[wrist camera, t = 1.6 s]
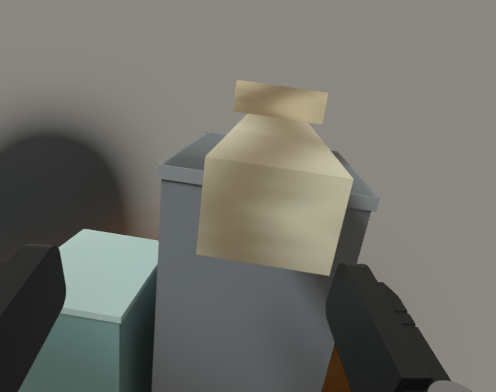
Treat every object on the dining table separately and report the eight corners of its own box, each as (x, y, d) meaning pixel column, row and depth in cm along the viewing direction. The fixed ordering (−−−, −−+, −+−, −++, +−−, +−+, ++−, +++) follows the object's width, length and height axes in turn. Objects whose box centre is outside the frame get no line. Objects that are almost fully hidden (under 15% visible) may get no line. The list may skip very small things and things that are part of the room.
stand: (142, 516, 29) (157, 164, 18) (183, 385, 42) (206, 132, 31) (282, 543, 28) (379, 198, 18) (281, 402, 41) (337, 151, 31)
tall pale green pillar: (25, 509, 28) (-7, 295, 21) (90, 399, 38) (84, 228, 31) (119, 527, 28) (120, 317, 21) (160, 412, 38) (171, 242, 31)
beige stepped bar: (163, 249, 10) (173, 72, 8) (239, 137, 31) (247, 81, 29) (362, 281, 10) (414, 106, 8) (303, 146, 30) (314, 91, 29)
